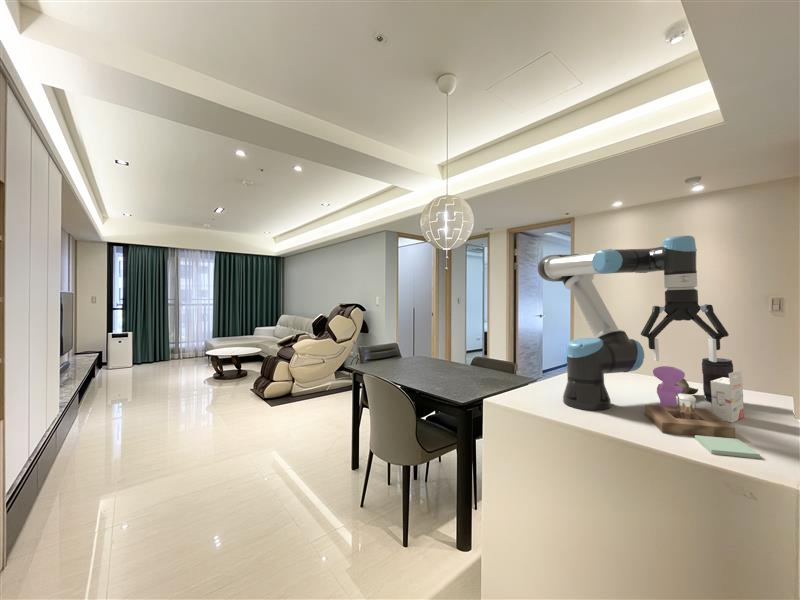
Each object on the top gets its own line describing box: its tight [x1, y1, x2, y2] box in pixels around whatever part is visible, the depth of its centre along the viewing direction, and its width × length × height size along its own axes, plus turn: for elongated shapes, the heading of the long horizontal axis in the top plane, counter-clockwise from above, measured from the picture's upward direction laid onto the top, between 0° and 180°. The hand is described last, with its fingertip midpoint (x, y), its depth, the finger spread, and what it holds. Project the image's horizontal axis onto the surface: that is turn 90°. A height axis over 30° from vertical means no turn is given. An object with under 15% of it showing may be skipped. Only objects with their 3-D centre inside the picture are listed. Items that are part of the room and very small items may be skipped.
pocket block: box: [644, 404, 736, 439], centre depth 101 cm, size 16×16×3 cm
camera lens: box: [701, 357, 734, 404], centre depth 120 cm, size 8×8×15 cm
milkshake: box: [675, 392, 697, 420], centre depth 101 cm, size 4×5×10 cm
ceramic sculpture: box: [660, 377, 699, 396], centre depth 128 cm, size 11×9×15 cm
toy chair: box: [652, 365, 686, 407], centre depth 114 cm, size 8×9×15 cm
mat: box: [694, 435, 761, 459], centre depth 85 cm, size 9×9×1 cm
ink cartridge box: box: [710, 370, 745, 424], centre depth 105 cm, size 9×5×15 cm, turn 117°
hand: (683, 360), depth 100 cm, fingers open, 13 cm apart
